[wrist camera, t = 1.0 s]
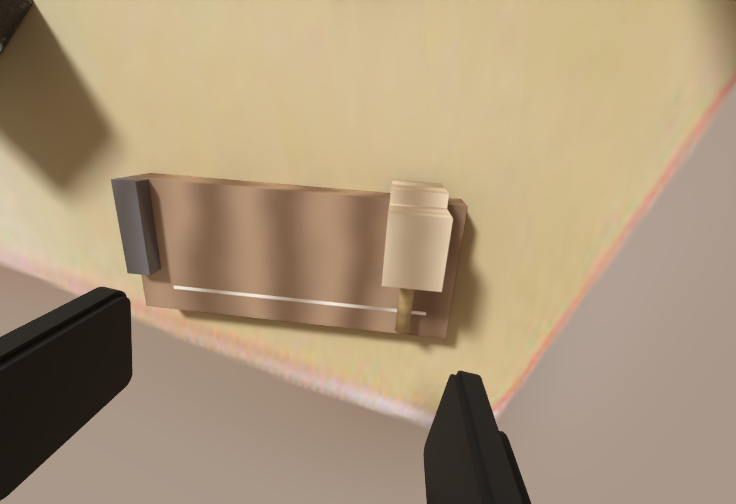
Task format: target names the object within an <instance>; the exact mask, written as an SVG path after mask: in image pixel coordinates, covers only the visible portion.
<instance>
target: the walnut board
mask: <svg viewBox="0 0 736 504" xmlns="http://www.w3.org/2000/svg"><path fill="white" fill-rule="evenodd" d="M111 183H112V188H113V194H114V199H115V205H116V211H117V216H118V222H119V227H120V233H121V238H122V244H123V250H124V255H125V261H126V266H127V272H128V273H132V274H141V275H142V281H143V287H144V293H145V299H146V305H147V306H152V307H161V308H170V309H180V310H189V311H198V312H207V313H216V314H225V315H234V316H243V317H253V318H262V319H271V320H280V321H289V322H298V323H307V324H316V325H325V326H335V327H344V328H353V329H362V330H371V331H380V332H389V333H397V332H396V331H395V326H396V316H397V307H398V298H399V289H400V288H396V287H386V286H382V275H383V264H384V253H385V242H386V231H387V220H388V211H389V204H390V194H391V193H381V192H369V191H357V190H345V189H333V188H321V187H309V186H298V185H286V184H274V183H262V182H250V181H238V180H226V179H214V178H203V177H191V176H179V175H167V174H155V173H148V174H142V175H135V176H129V177H123V178H117V179H111ZM467 207H468V206H467V205H466V204H465V203H464V202H463V201H462V200H461V199H452V198H448V205H447V209H448V211H449V213H450V214H451V216H452V218H453V223H452V229H451V236H450V242H449V249H448V255H447V261H446V268H445V274H444V281H443V287H442V292H436V291H426V290H416V289H414V297H413V305H412V313H411V321H410V329H409V333H407V334H408V335H417V336H426V337H435V338H444V339H445V338H446V332H447V326H448V320H449V314H450V308H451V302H452V296H453V290H454V284H455V279H456V273H457V267H458V261H459V255H460V249H461V243H462V237H463V231H464V225H465V219H466V213H467ZM398 334H399V333H398Z"/></svg>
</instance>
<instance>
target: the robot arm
mask: <svg viewBox="0 0 736 504" xmlns="http://www.w3.org/2000/svg"><path fill="white" fill-rule="evenodd" d="M131 345H132V344H131V306H130V300H129V299H128V298H127V297H126V294H125V293H124V292H122V291H119V290H115V289H111V288H106V287H98V288H96V289H94V290H92V291H90V292H88V293H86V294H84V295H82V296H80V297H78V298H76V299H74V300H72V301H70V302H68V303H66V304H64V305H62V306H60V307H59V308H57V309H55V310H53V311H51V312H49V313H47V314H45V315H43V316H41V317H39V318H37V319H35V320H33V321H31V322H29V323H27V324H25V325H23V326H21V327H19V328H17V329H15V330H13V331H11V332H9V333H7V334H5V335H3V336H1V337H0V500H2V499H4V498H5V497H6V496H8V495H9V494H10V493H11V492H12V491H13V490H14V489H15V488H16V487H18V485H20V484H21V483H22V482H23V481H24V480H25V479H26V478H27V477H28V476H29V475H30V474H32V473H33V472H34V471H35V470H36V469H37V468H38V467H39V466H40V465H41V464H43V463H44V462H45V461H46V460H47V459H48V458H49V457H50V456H51V455H52V454H53V453H54V452H56V450H57V449H59V448H60V447H61V446H62V445H63V444H64V443H65V442H66V441H67V440H69V439H70V438H71V437H72V436H73V435H74V434H75V433H76V432H77V431H78V430H79V429H80V428H82V427H83V426H84V425H85V424H86V423H87V422H88V421H89V420H90V419H91V418H92V417H93V416H94V415H95V414H96V413H98V412H99V411H100V410H101V409H102V408H103V407H104V406H105V405H106V404H107V403H109V402H110V401H111V400H112V399H113V398H114V397H115V396H116V395H117V394H118V393H119V392H121V391H122V390H123V389H124V388H125V387H126V386H127V385H128V383H129V381H130V380H131V377H132V346H131ZM424 469H425V484H426V497H427V504H531V501H530V499H529V496H528V493H527V490H526V487H525V485H524V482H523V479H522V476H521V473H520V470H519V468H518V465H517V462H516V459H515V456H514V453H513V451H512V448H511V445H510V442H509V440H508V438H507V436H506V434H505V433H504V432H502V431H499V430H498V427H497V424H496V421H495V418H494V415H493V412H492V409H491V406H490V403H489V400H488V397H487V394H486V391H485V388H484V385H483V382H482V379H481V377H480V376H479V375H477V374H472V373H468V372H464V371H458V372H457V374H456V375H453V374H451V375H450V377H449V379H448V382H447V385H446V387H445V390H444V393H443V396H442V398H441V401H440V404H439V407H438V410H437V412H436V415H435V418H434V421H433V423H432V426H431V429H430V432H429V435H428V438H427V441H426V443H425V447H424Z"/></svg>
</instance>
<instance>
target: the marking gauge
mask: <svg viewBox="0 0 736 504" xmlns="http://www.w3.org/2000/svg"><path fill="white" fill-rule="evenodd" d="M448 198H449V193H448V192H447V191H446V189H445V188H444V187H443V185H442V184H438V183H426V182H413V181H401V180H393V181H392V186H391V194H390V204H389V211H388V220H387V231H386V242H385V253H384V264H383V275H382V286H386V287H396V288H400V289H399V298H398V307H397V316H396V326H395V331H396V332H397V333H399V334H407V333H409V329H410V321H411V313H412V305H413V297H414V289H416V290H426V291H436V292H442V287H443V281H444V274H445V268H446V261H447V255H448V249H449V242H450V236H451V229H452V223H453V218H452V216H451V214H450V213H449V211H448V209H447V205H448Z"/></svg>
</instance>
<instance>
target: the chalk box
mask: <svg viewBox="0 0 736 504" xmlns="http://www.w3.org/2000/svg"><path fill="white" fill-rule="evenodd" d="M31 5H32V1H31V0H0V52H1V51H2V49H3V47H4V46H5V44H6V43H7V41H8V40H9V38H10V37H11V35H12V33H13V32H14V30H15V29H16V27H17V25H18V24H19V23H20V21H21V19H22V18H23V17H24V15H25V14H26V12H27V11H28V9H29V8H30V6H31Z"/></svg>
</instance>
